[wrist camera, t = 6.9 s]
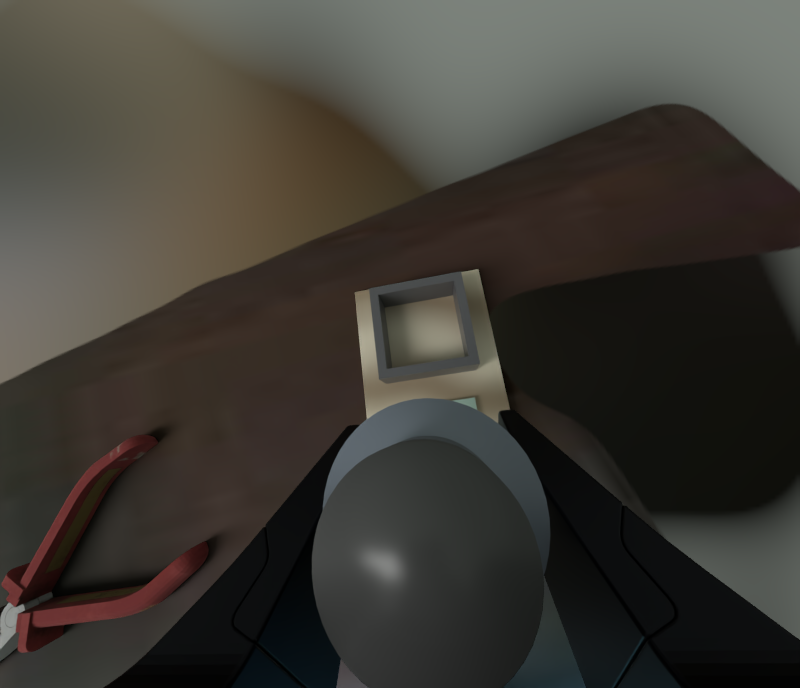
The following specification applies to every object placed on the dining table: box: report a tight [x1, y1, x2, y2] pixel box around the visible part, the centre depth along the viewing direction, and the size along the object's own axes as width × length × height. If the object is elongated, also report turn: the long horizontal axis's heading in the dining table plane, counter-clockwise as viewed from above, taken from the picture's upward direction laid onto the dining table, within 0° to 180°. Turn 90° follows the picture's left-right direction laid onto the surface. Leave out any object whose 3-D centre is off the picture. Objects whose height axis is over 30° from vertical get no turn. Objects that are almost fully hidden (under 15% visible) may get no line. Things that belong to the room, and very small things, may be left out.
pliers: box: [0, 435, 209, 661], centre depth 21 cm, size 12×20×3 cm, turn 129°
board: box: [355, 269, 510, 423], centre depth 21 cm, size 18×10×1 cm, turn 8°
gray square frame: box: [369, 271, 480, 384], centre depth 21 cm, size 7×7×2 cm
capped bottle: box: [312, 398, 550, 688], centre depth 9 cm, size 4×4×12 cm
